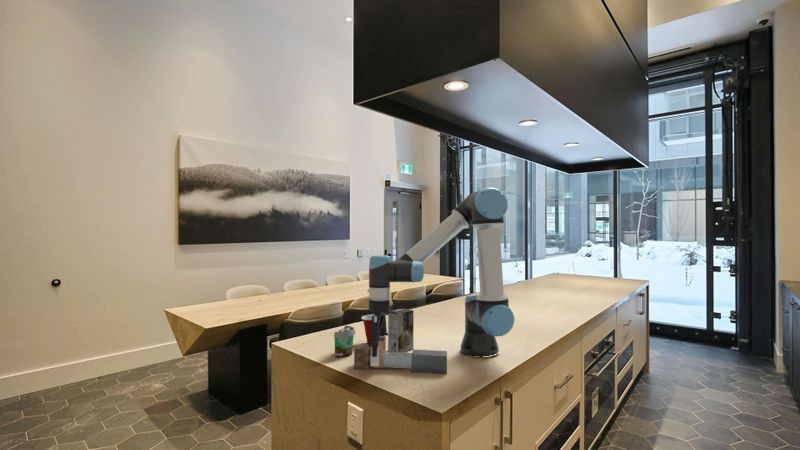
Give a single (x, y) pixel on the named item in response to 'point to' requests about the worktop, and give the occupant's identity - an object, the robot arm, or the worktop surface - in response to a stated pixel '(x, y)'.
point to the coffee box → (400, 330)
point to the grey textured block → (362, 357)
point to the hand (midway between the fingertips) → (378, 359)
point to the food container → (344, 342)
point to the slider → (391, 357)
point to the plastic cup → (368, 326)
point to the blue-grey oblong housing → (429, 361)
